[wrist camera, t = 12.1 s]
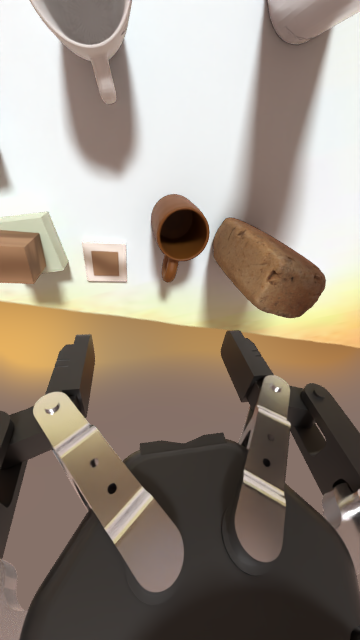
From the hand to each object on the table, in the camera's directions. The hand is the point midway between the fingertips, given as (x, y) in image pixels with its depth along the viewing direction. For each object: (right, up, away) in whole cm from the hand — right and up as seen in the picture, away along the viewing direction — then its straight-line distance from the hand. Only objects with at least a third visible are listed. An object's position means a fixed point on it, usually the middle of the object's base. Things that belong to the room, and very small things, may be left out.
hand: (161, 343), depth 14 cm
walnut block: (-22, +12, +20) cm, 32 cm away
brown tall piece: (+12, +16, +29) cm, 35 cm away
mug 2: (-1, +17, +26) cm, 31 cm away
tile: (-12, +12, +27) cm, 32 cm away
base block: (-23, +14, +23) cm, 35 cm away
